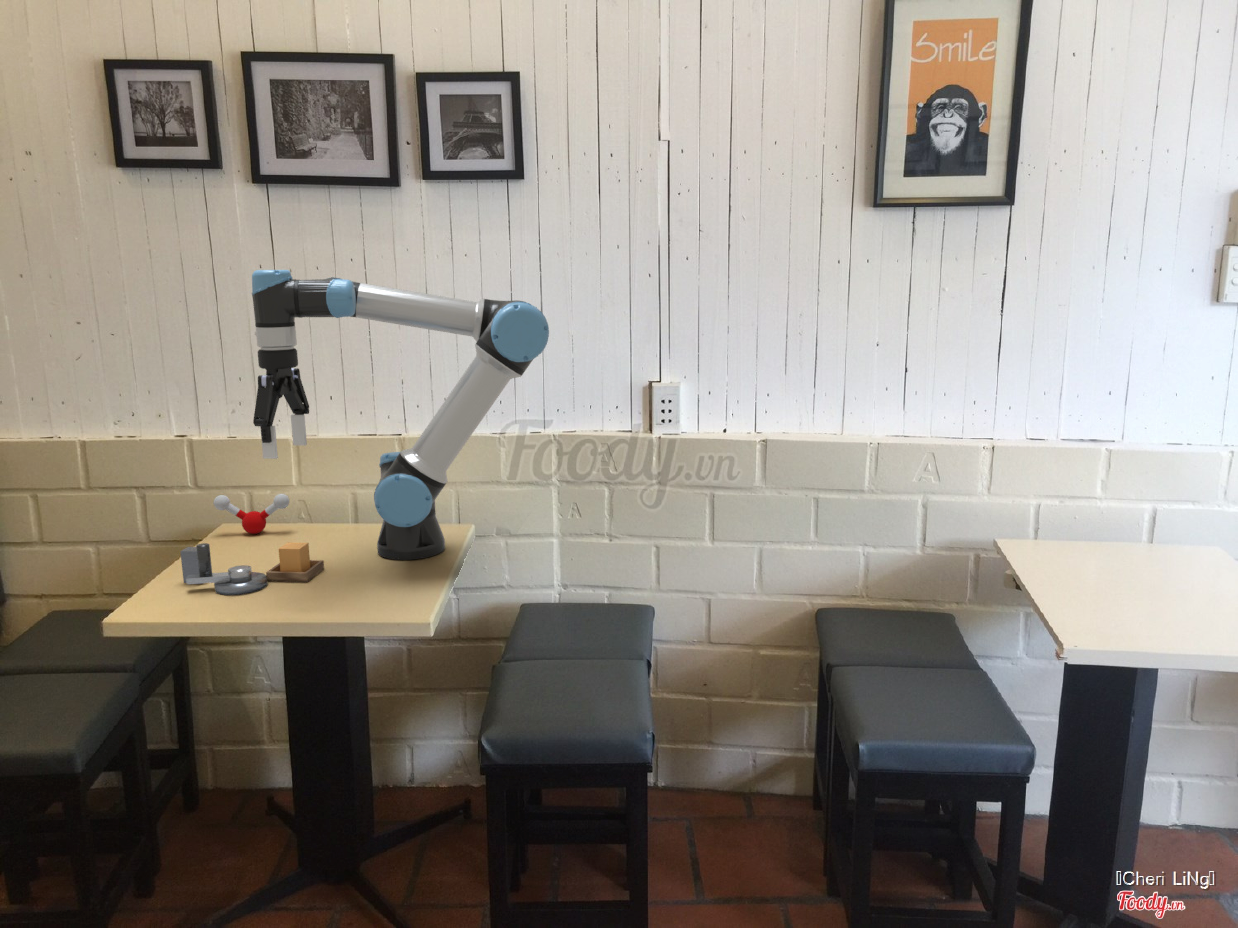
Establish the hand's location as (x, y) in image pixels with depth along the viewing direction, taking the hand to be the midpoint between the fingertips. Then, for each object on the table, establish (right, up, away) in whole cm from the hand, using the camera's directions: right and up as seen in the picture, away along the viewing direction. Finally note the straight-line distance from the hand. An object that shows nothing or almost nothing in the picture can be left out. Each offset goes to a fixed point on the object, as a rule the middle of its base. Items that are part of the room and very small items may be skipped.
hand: (285, 451), depth 193 cm
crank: (-12, -26, -2) cm, 29 cm away
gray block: (-19, -27, +2) cm, 33 cm away
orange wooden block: (0, -26, +6) cm, 26 cm away
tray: (0, -26, +6) cm, 27 cm away
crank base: (-9, -28, -1) cm, 29 cm away
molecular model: (-20, -20, +36) cm, 46 cm away
